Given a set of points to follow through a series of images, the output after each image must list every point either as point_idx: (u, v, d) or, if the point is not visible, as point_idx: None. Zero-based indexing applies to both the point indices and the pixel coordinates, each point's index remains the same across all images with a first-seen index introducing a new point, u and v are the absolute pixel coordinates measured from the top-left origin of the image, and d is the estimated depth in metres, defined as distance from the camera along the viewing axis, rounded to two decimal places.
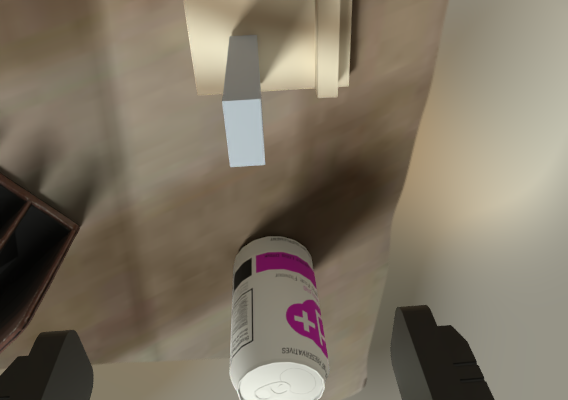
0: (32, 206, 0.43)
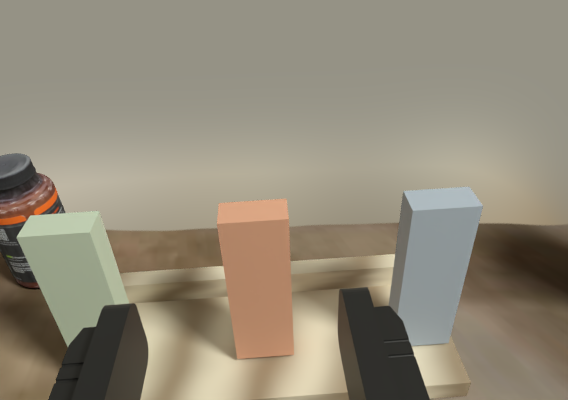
0: None
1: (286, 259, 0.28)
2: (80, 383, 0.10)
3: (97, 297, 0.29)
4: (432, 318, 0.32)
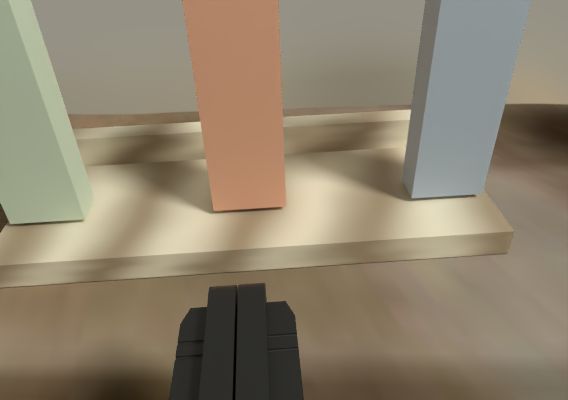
0: None
1: (274, 41, 0.21)
2: (205, 358, 0.10)
3: (23, 101, 0.22)
4: (464, 153, 0.25)
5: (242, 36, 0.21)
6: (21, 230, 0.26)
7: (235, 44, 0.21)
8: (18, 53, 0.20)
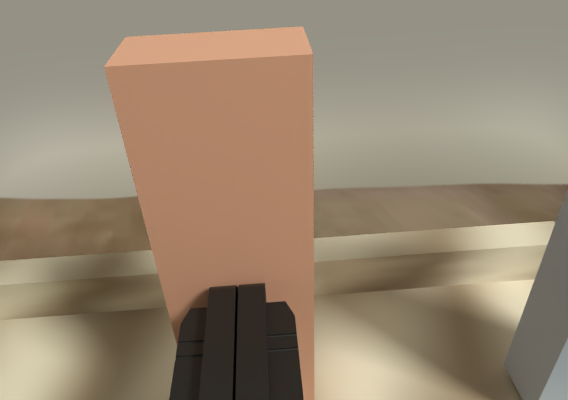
0: None
1: (304, 184, 0.11)
2: (205, 358, 0.10)
3: None
4: None
5: (241, 177, 0.11)
6: None
7: (227, 190, 0.11)
8: None
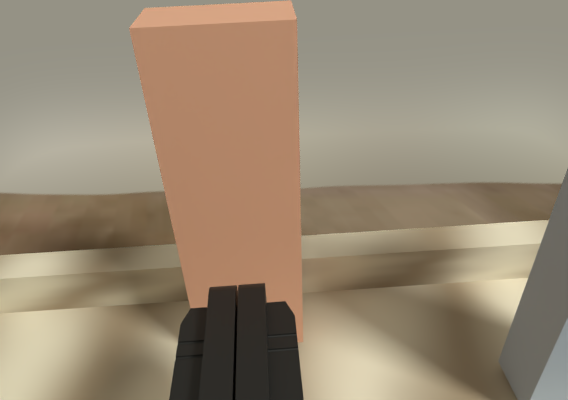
0: None
1: (291, 131, 0.13)
2: (205, 358, 0.10)
3: None
4: None
5: (239, 124, 0.13)
6: None
7: (227, 136, 0.13)
8: None
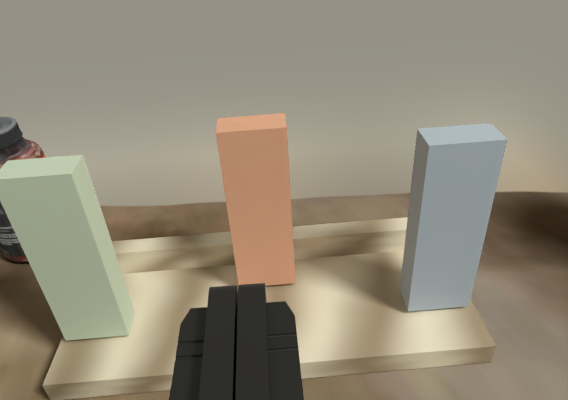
0: None
1: (285, 173, 0.28)
2: (205, 358, 0.10)
3: (82, 253, 0.26)
4: (451, 277, 0.29)
5: (261, 170, 0.28)
6: (75, 346, 0.30)
7: (256, 175, 0.28)
8: (81, 220, 0.25)
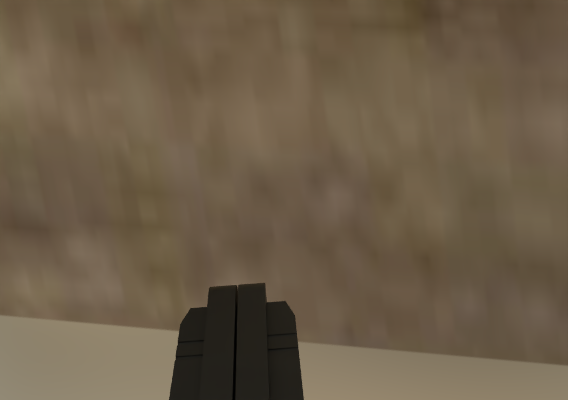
0: None
1: None
2: (205, 358, 0.10)
3: None
4: None
5: None
6: None
7: None
8: None
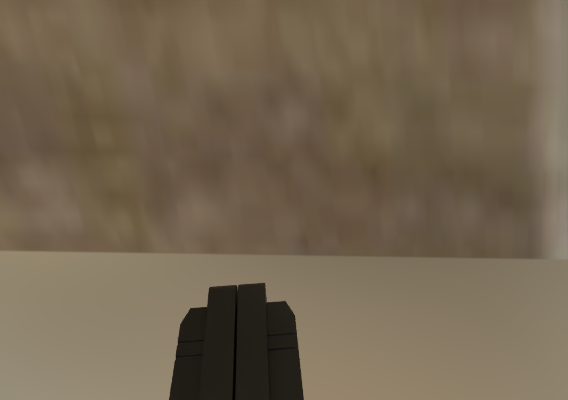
0: None
1: None
2: (205, 358, 0.10)
3: None
4: None
5: None
6: None
7: None
8: None
